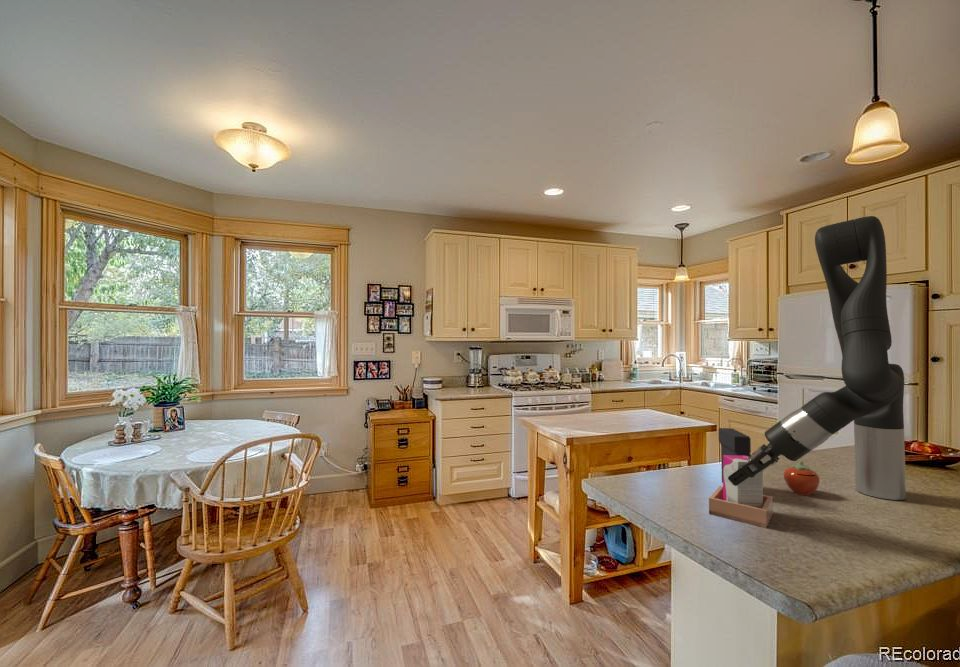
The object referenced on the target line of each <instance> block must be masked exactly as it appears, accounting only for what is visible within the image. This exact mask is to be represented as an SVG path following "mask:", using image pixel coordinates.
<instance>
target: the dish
mask: <svg viewBox="0 0 960 667" xmlns="http://www.w3.org/2000/svg"><path fill="white" fill-rule="evenodd" d="M708 514H709V515H712V516H716V517H720V518H725V519H729V520H733V521H737V522H740V523H744V524H749V525H753V526H756V527H760V528H765V529H767V528H768V525H769V523H770V521H771V518H772V516H773V515H774V496H772V495H771V496H769V495H765V494H763V508H762V509H761V508H757V507H752V506H748V505H743V504H739V503H734V502H730V501H725V500H723V485H722V486H721V485H720V486H718V487H717V488H716V489H715V490H714V492H712V494H711V495H710V496H709V497H708Z"/></svg>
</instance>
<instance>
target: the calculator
mask: <svg viewBox="0 0 960 667" xmlns="http://www.w3.org/2000/svg"><path fill="white" fill-rule="evenodd" d="M718 442H719V445H720V446H721V447H720V449H721V450H720V453H721V457H720V458H721V483H722V484H723V455H735V456H748V457H750V456H752V446H751V445H752V440H751V437H750V435H749V436H748V435H747V434H745V433H743V432H740V431H739V430H736V429H735V428H728V427H719V428H718Z"/></svg>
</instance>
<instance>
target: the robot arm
mask: <svg viewBox="0 0 960 667" xmlns="http://www.w3.org/2000/svg"><path fill="white" fill-rule="evenodd" d="M814 245H815V250H816V255H817V258H818V262H819V264H820V268H821V271H822V274H823V277H824V280H825V284H826V287H827V290H828V297H829V302H830V307H831V313H832V320H833V323H834V328H835V332H836V335H837V339H838V342H839V347H840V351H841V356H842V357H841V375H842V380H843V382H844V385H845V386H843V387H841V388H838V389H837V390H835V391H825V392H824V391H823V392H821V393H819V394H818V395H816V396H815V397H813V398H812V399H811V400H809V401H808V402H806V403H805V404H803V405H802V406H801V407H799V408H798V409H796V410H793V411H792V412H790V413H789V414H787V415H786V416H784V417H783V418H782V419H781V420H778V422H776V423H775V424H774V425H773V426H771V427H769V428H768V429H767V430H765V432H764V437H765V438H766V440H767V442H769V443H768V444H765V443H763V444H761V445H760V446H759V447H758V448H757V449H756V450H754V451H753V452H751V455H752V456H750V457H749V458H748V459H747V463H746V464H745V465H742V466H741V468H740V469H738V470H737V471H736V472H734V473H733V474H731V475H730V476H729V477H728V480H729V481H730V482H731V483H732V484H733V485H735V486H737V485H738V484H740V483H741V482H743V481H744V480H746V479H747V478H749V477H750V478H752V477H754V476H755V475H756V474H757V473H759V472H762V471H763V472H764V471H765V470H767V469H768V468H769V467H771V466H774V465H775V464H777V463H778V462H779V460H780V458H779V456H784V457H785V458H786V459H787V460H789V461H791V462H797V461H798V460H800V459H801V458H802V457H804V456H807V454H809V453H811V452H812V451H813V450H814V449H816V448H818V447H819V446H821V445H823V443H825V442H826V441H828V440H829V439H830V437H832V436H833V435H834V434H836V433H838V432H839V431H840V430H842V429H844V428H845V427H846V426H849V424H850V423H852V422H853V436H854V439H853V440H854V441H853V442H854V473H855V474H854V475H855V476H854V478H855V479H854V480H855V491H856V492H859V493H861V494H864V495H866V496H871V497H875V498H879V499H884V500H885V499H886V500H892V501H902V500H903V501H904V500H906V499H907V490H906V489H907V488H906V487H907V486H906V482H907V481H906V452H905V451H906V449H905V445H906V444H905V421H904V397H905V396H904V395H905V373H904V370H903V368H902V367H901V366H900V365H899V364H897V363H889V357H888V356H889V354H888V351H889V350H890V349H891V347H892V340H893V339H892V334H891V326H890V319H889V314H888V306H887V286H888V284H887V280H888V279H887V278H888V277H887V275H888V274H887V273H888V272H887V270H888V269H887V268H888V267H887V247H886V246H887V244H886V236H885V231H884V227H883V224H882V221H881V220H880V219H879V218H878V217H877V216H874V215H869V216H863V217H859V218H854V219H849V220H845V221H841V222H836V223H832V224H828V225H825V226H822V227H821V226H820V228H818V229H817V230H816V232H815V236H814ZM860 262H865V269H864V272H863V274H862V277H861V278H860V280H859V282H857V280H854V279H853V277H851V276H850V275H849V274H848V273H847V272H846V271H845V269H844V268H843V266H842V265H847V264H853V263H860ZM749 465H752V466H753V467H754V468H755V470H754V471H752V470H751V469H750V468H749V467H748V466H749Z"/></svg>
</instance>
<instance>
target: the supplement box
mask: <svg viewBox="0 0 960 667" xmlns="http://www.w3.org/2000/svg"><path fill="white" fill-rule="evenodd" d="M748 458H749V457H748V456H735V455H723V483H722V487H723V500H725V501H730V502H734V503H739V504H743V505H748V506H752V507H757V508H761V509H762V508H763V495H764V490H763V489H764V486H763V485H764V483H763V482H764V471H762V472H759V473H757V474H756V475H755V476H754V477H752V478H750V477H749V478H747V479H746V480H744V481H743V482H741V483H740V484H738V485H737V486H735V485H733V484H732V483H731V482H730V481H729V480H728V477H729V476H730V475H731V474H733V473H734V472H736V471H737V470H738V469H740V468H741V466H742V465H745V464H746V463H747V459H748ZM748 467H749V468H750V469H751V470H752V471H754V470H755V468H754V467H753V466H752V465H749V466H748Z"/></svg>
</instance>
